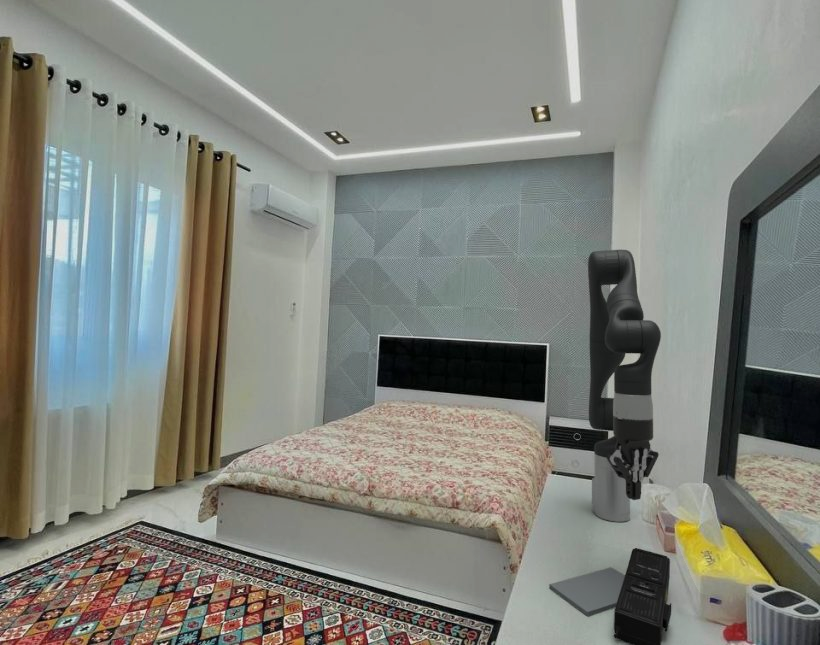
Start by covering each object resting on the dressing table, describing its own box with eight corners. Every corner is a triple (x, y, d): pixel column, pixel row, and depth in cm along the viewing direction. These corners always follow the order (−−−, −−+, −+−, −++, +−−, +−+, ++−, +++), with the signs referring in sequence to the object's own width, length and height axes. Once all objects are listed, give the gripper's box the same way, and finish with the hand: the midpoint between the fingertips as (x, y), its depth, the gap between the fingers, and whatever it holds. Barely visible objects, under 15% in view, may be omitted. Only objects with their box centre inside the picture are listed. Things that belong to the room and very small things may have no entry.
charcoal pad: (549, 588, 90) (549, 584, 90) (611, 570, 97) (611, 567, 97) (587, 616, 81) (587, 612, 81) (652, 595, 88) (652, 591, 88)
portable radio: (675, 556, 90) (666, 629, 69) (675, 586, 90) (666, 668, 69) (632, 545, 94) (611, 610, 73) (631, 573, 94) (610, 647, 73)
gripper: (639, 410, 100) (640, 488, 100) (595, 414, 95) (595, 497, 94) (670, 416, 93) (671, 500, 93) (625, 420, 88) (626, 509, 87)
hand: (633, 498), depth 94 cm, fingers closed
